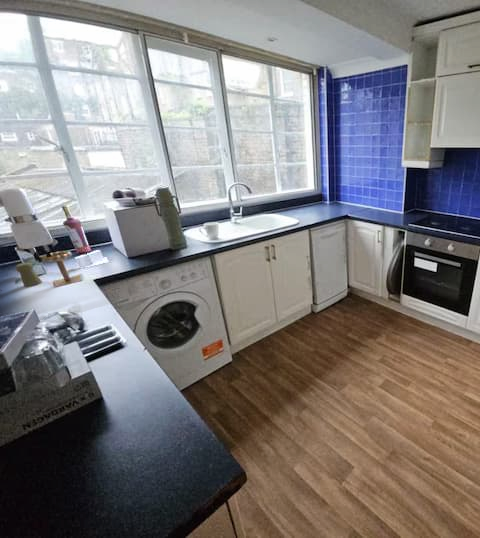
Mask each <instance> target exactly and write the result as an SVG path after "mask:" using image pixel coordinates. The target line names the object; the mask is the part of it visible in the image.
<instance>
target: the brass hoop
mask: <svg viewBox="0 0 480 538" xmlns="http://www.w3.org/2000/svg"><path fill="white" fill-rule="evenodd" d="M50 253H51V255H52V257H47V256H46V254H43V255H41V256H39V257H40V260H41V261H42V262H41V263H51V262H52V263H53V262H56V261H58V260H62V261H63V260H65V259H68V258H71V257H72V255H73V253H72V252H71V251H69V250H59V251H55V252H50Z"/></svg>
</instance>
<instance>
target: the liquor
mask: <svg viewBox="0 0 480 538" xmlns="http://www.w3.org/2000/svg"><path fill="white" fill-rule="evenodd" d="M61 209H62V211H63V212H64V215H65V219H66V220H64V221H63V222H62V225H63V227H64V228H65V231H66V233H67V234H68V237H69V238H70V240H71V242H72V245H73V246H74V248H75V250H76V254H78V255H85V254H86V253H91V252H92V248H91V246H90V245H89V242H88V240H87V236H86V234H85V231H84V227H83V225H82V222H81V220H79V219H77V218H74V216H73V214H72V213H71V211H70V207H69V205H66V204H65V205H61Z"/></svg>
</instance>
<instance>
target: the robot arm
mask: <svg viewBox="0 0 480 538" xmlns="http://www.w3.org/2000/svg"><path fill="white" fill-rule="evenodd" d="M0 208H4V210H5V212H6V215H7V216H8V217H7V218H4V221H5V223H11V224H10V226H9V227H10V230H11V233H12V236H13V238H14V240H15V242H16V247H15V248H16V250H17V251H25V252H28V253H31V254H33V256H34V258H35V260H36V261H39V263H43V262H42V261H41V260H40V257H41V256H40V255H39V253H38V252H37V250H36V249H35V250H36V251H35V250H34V248H36V247H41V246H42V247H43V249H44V255H46V256H47V257H52V255H51V253H52V252H50V251H51V249H52V248H53V247H55V246H56V245H58V244H59V242H58V240H56V239H55V238H54V237H53V236H52V235H51V233H50V232H49V229H48V228H47V226H46V225H45V223H44V222H43V221H42V219H39V217H38V216H37V214H36V212H35V210H34V207H33V205H32V202H31V201H30V199H29V196H28V195H27V192H26V191H25V190H24V188H21V187H7V188H0ZM33 247H34V248H33ZM28 248H29V249H28ZM16 250H15V251H16ZM17 251H16V252H17Z"/></svg>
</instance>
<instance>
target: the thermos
mask: <svg viewBox="0 0 480 538" xmlns="http://www.w3.org/2000/svg"><path fill="white" fill-rule="evenodd" d="M155 195H156V197H155V198H154V199H153V201H152V202H153V205H154V208H155V210H156V214H157V216H158V217H160V218H161V220H162V221H163V223H164V227H165V230H166V233H167V240H168V244H169V246H170V249H171V250H172V251H173V250H175V251H177V250H183V249H185V248H187V247H188V244H187V238H186V236H185V234H184V231H183V228H182V224H181V220H180V219H181V218H180V214H182V209H181V206H180V203H179V198H178V197H177V196H176V195H173V193H172V191H171V189H170V188H168V187H158V188H157V189H155ZM174 199H175V200H174ZM175 202H176V203H175ZM157 203H158V204H159V208H158V204H157ZM176 205H177V206H176Z"/></svg>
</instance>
